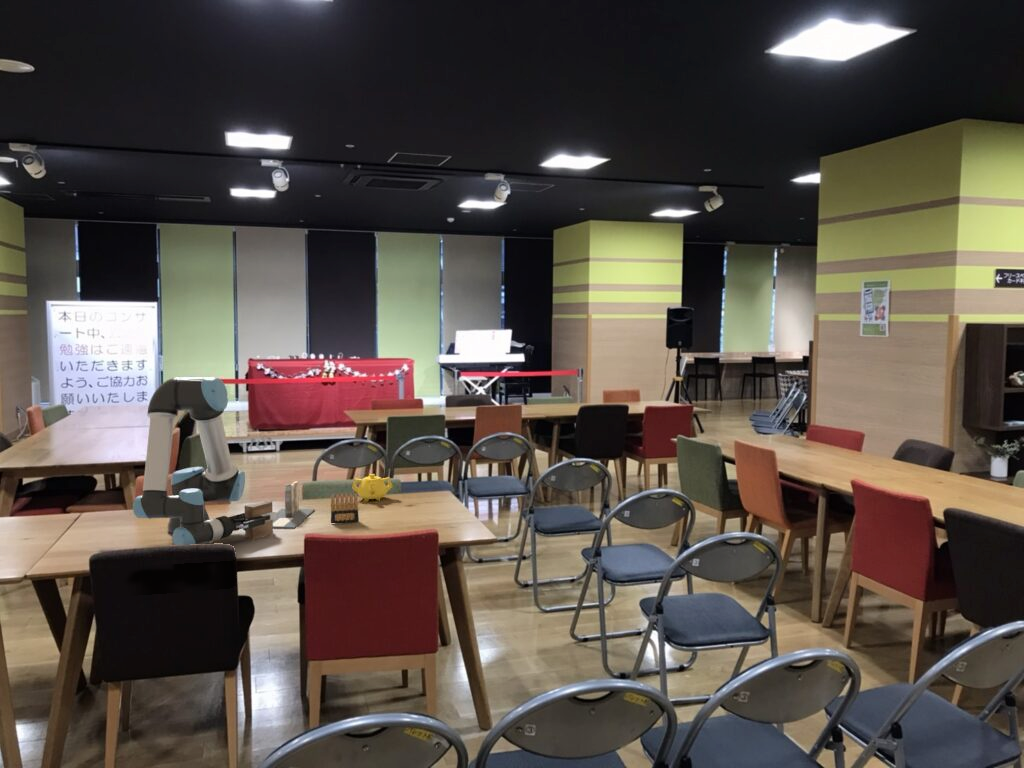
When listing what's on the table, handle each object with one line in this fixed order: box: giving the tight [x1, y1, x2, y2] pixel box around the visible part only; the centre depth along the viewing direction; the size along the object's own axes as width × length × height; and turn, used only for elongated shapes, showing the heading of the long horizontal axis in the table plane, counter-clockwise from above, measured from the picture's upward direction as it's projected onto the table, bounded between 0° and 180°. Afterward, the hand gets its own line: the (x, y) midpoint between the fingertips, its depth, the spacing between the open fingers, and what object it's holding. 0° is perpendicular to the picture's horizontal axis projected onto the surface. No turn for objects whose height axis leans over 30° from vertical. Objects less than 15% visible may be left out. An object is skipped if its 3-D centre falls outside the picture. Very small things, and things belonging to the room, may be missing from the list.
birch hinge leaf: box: [284, 480, 300, 517], centre depth 312 cm, size 12×3×13 cm, turn 178°
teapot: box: [351, 473, 394, 502], centre depth 339 cm, size 20×18×11 cm
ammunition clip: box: [330, 491, 360, 524], centre depth 300 cm, size 11×2×12 cm, turn 107°
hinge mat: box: [273, 508, 316, 529], centre depth 306 cm, size 28×14×1 cm, turn 178°
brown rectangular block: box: [244, 500, 274, 540], centre depth 283 cm, size 4×10×12 cm, turn 148°
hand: (270, 514), depth 287 cm, fingers closed on brown rectangular block, 4 cm apart
